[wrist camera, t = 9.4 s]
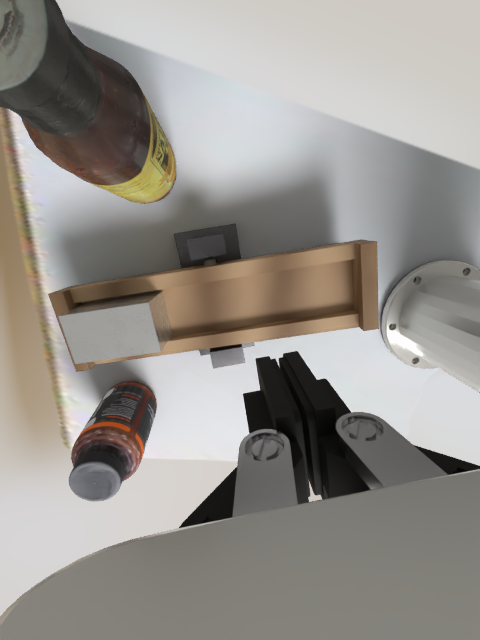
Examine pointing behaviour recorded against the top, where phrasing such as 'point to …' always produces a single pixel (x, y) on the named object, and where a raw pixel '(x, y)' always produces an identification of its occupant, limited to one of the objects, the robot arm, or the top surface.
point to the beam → (250, 297)
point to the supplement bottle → (112, 441)
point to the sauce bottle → (81, 105)
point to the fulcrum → (221, 248)
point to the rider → (117, 327)
